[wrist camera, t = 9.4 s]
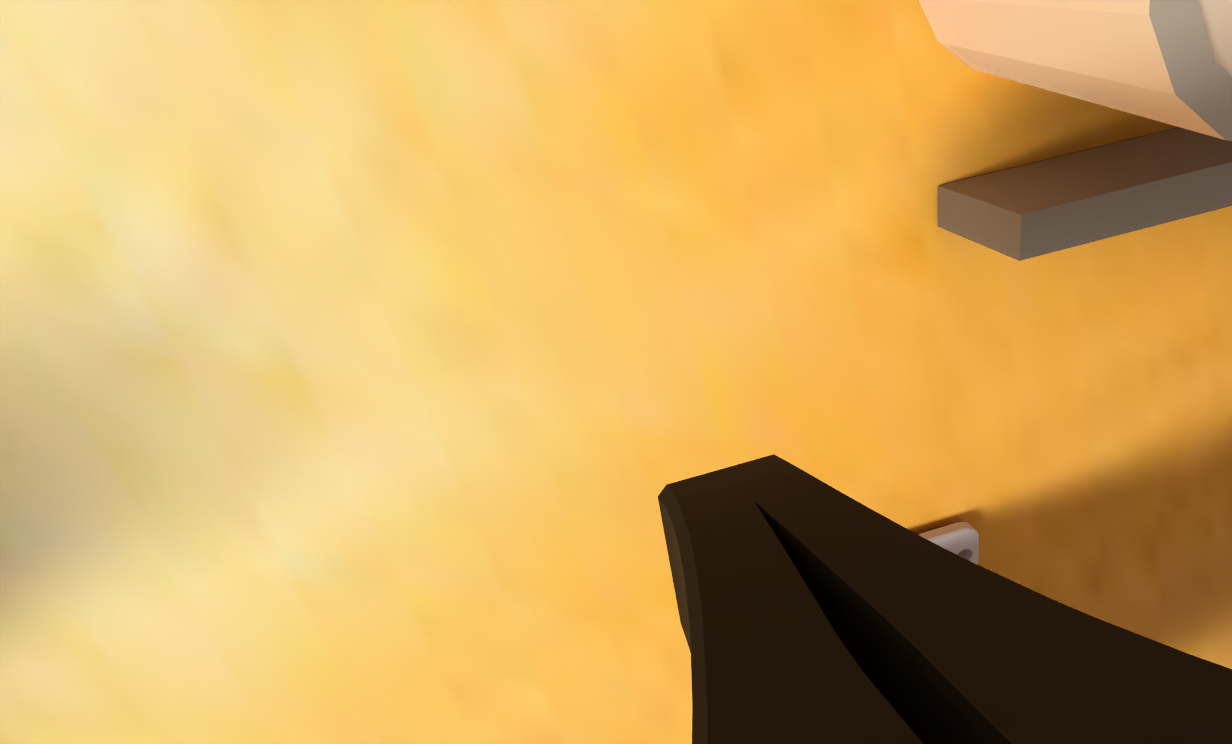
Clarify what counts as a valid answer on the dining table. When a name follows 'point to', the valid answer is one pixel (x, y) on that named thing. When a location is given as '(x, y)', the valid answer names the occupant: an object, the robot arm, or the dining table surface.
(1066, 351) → the dining table surface
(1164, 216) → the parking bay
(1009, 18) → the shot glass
